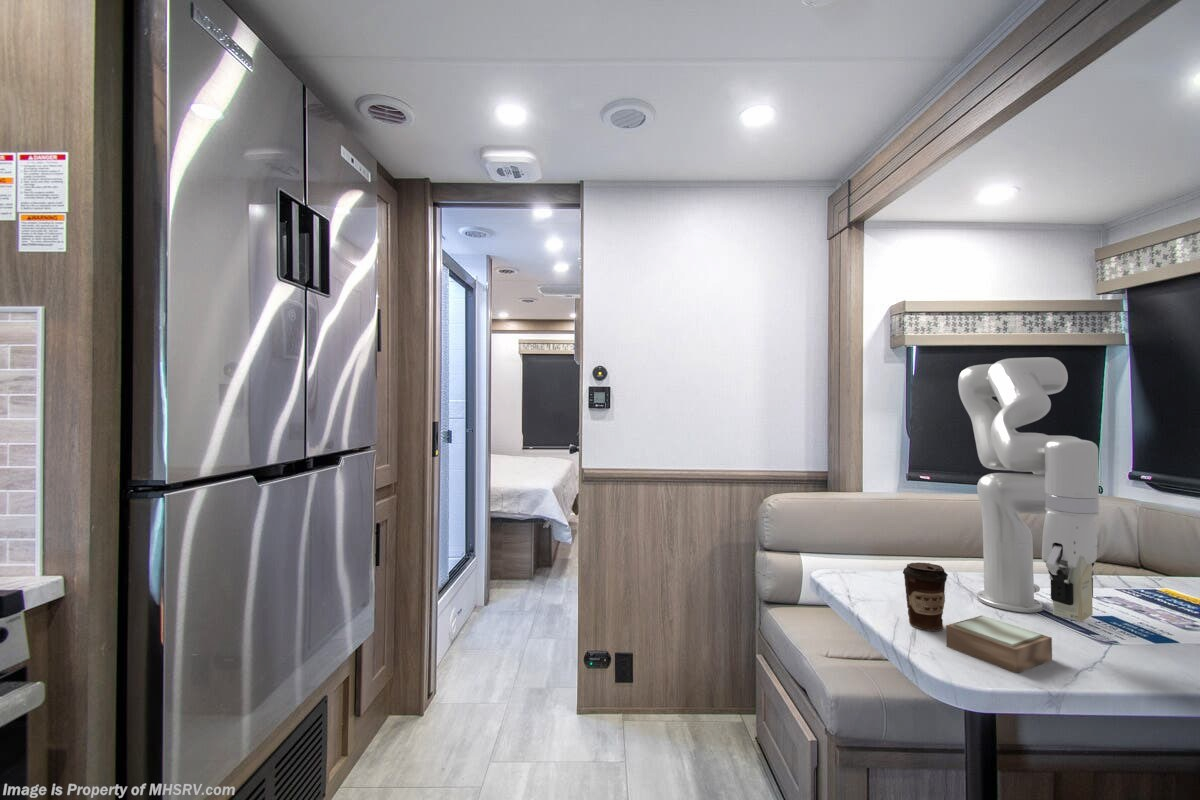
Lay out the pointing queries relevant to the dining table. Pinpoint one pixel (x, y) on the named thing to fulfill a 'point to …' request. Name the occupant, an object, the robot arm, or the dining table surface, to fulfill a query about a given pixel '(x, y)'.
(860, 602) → the dining table surface
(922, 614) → the coffee cup
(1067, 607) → the skincare box
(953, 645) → the walnut plinth
